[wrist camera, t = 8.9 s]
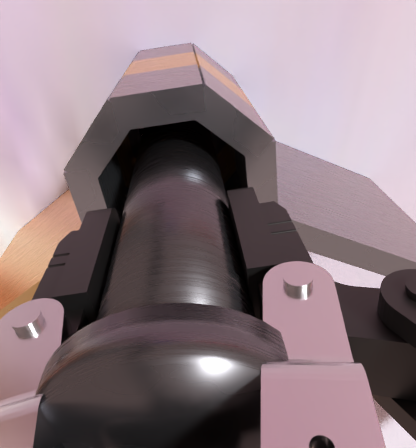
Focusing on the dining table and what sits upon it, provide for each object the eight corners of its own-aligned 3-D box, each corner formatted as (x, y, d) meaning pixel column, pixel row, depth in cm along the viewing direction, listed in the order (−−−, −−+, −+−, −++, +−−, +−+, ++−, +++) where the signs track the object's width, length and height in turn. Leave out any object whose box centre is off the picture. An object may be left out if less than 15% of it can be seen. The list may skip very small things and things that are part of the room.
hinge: (-54, 80, 20) (-241, 151, 11) (386, 12, 20) (560, 29, 11) (23, 241, 25) (-61, 376, 16) (368, 190, 25) (473, 298, 16)
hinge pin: (117, 99, 16) (-46, 393, 4) (219, 84, 16) (334, 339, 4) (140, 190, 19) (75, 545, 7) (229, 177, 19) (323, 510, 7)
